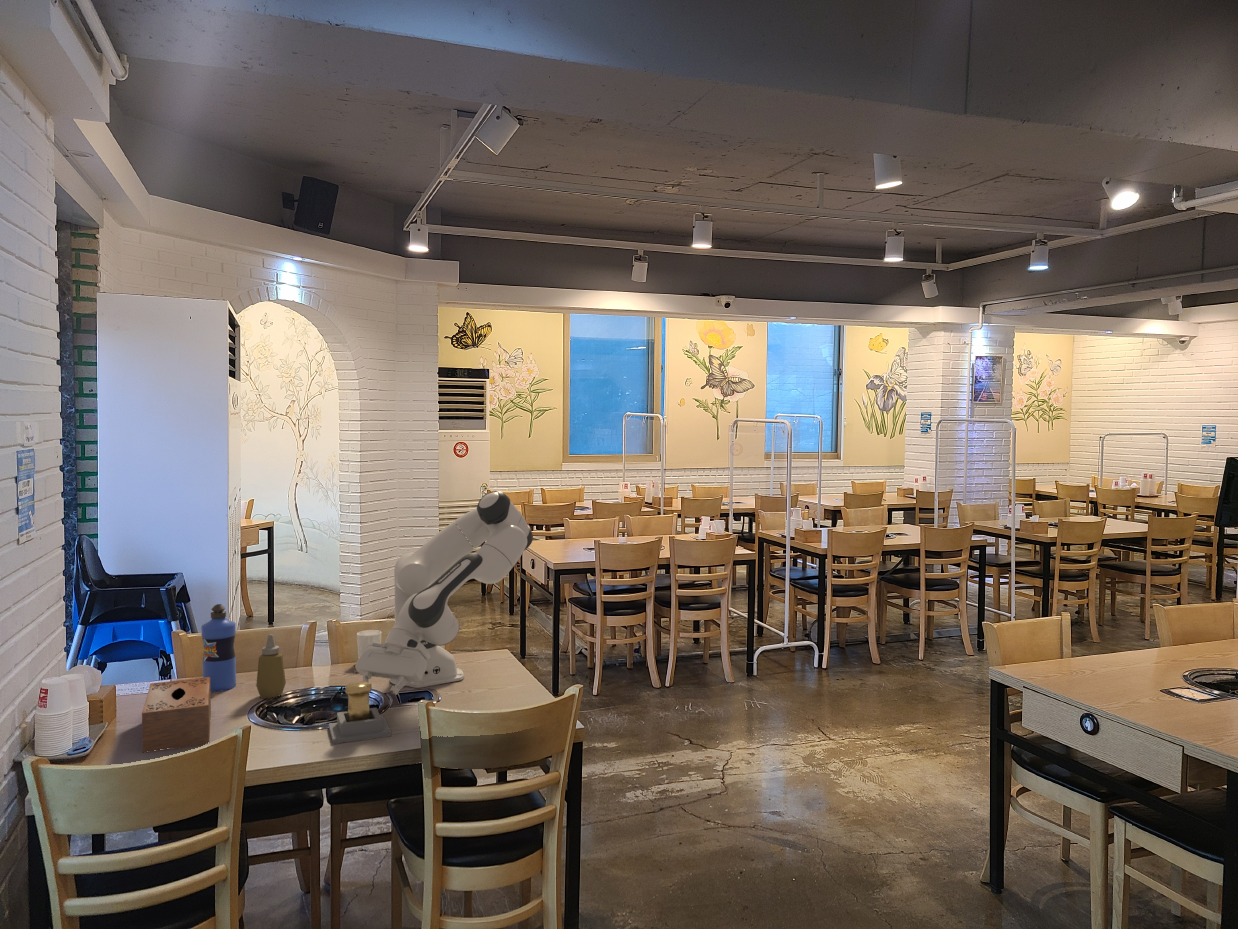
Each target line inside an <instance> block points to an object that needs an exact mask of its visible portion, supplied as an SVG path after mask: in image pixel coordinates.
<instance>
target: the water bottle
mask: <svg viewBox="0 0 1238 929" xmlns="http://www.w3.org/2000/svg"><path fill="white" fill-rule="evenodd" d="M225 609H226V607H225V606H224V605H223V604H222V603H220V604H219V603H218V604H217V603H216V604H214V605H213V607H212V608H211V612H210V620H209V621H208V622H206V623H203V624H202V625H201V629H200V630H201V638H202V645H203V654H202V678H204V677H210V687H211V693H213V692H214V693H217V692H225V691H229V690H232V689H234V688H236V687H237V665H236V664H237V663H236V660H237V659H236V653H235V642H236V640H235V638H236V634H237V629H236V628H237V626H236V624H237V622H235V621H233V620H230V619H227V618H226V617H227V611H226V610H225Z"/></svg>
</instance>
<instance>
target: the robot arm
mask: <svg viewBox="0 0 1238 929" xmlns="http://www.w3.org/2000/svg"><path fill="white" fill-rule="evenodd" d="M533 540H534V535H533V531H532V529H531V527H530V525H528V523H527V521H526V519H525V516H523V513H521V511H519V509H518V507H516V506H515V504H514V503H513V502H512V501H511V499H510V497H509V496H508V495H507V494H506V493H504V492H503V491H501V490H493V491H489V492H487V493H486V494H484V495H482V497H481V498H480V499H479V501H478V503H477V505H476V508H474V509H472V510H470V511H468V512H466V513H464V514H462V515H460V516H459V517H458V518H456V519H455V520H453V521H452V522H451V523H449V524H447V526H445V527H444V528H442V529H441V530H440V531H438V532H436V533H435V534H434V535H433V536H432V537H430V539H428V541H426V542H425V543H424V544H423V545H421V546H420V547H419V548H418V549H417V550H416V551H414V552H413V551H412V552H411V551H410V552H407V553H404V554H402V555H401V556H400V557H399V558H398V559H397V561H396V562H395V565H394V625H393V626H392V627H391V628H390V630H389V633H388V635H387V637H386V639H385V640H384V643H381V644H378V643H373V644H372V645H369V646H368V647H367V648H366V650H365V651H364V652H363V653H362V655H361V656H360V658H359V657H358V659H357V661H356V663H355V666H354V667H355V670H356V672H357V673H358V674H360V675H362V682H369V680H371V679H372V677H376V678H382V679H389V682H390V683H391V684H393V685H391V688H390V689H389V693H390V694H392V695H395V696H397V695H398V694H399V692H400V690H401V689H403V687H411V688H414V689H417V688H418V689H420V688H424V687H431V686H437V685H441V684H446V683H447V684H448V683H452V682H453V683H454V682H458V681H462V680H464V678H465V674H464V672H463V670H462V669H461V668H459V667H457V663H456V659H455V657H454V655H453V654H452V653H450V652H449V651H448V650H446V649H445V648H443V647H442V646H445V645H448V644H450V643H451V642H453V641H454V640H455V639H456V638H457V636H458V634H459V632H460V623H459V621H458V619H457V617H456V616H455V614H454V613H453V611H452V610H451V609H450V607H449V605H448V601H449V598H450V597H451V596H452V595H454V594H455V592H457V591H458V590H459V589H460V588H461V587H462V586H464V584H466V582H468V581H469V580H473V579H474V580H475V581H477V582H481V583H483V584H486V585H487V584H488V585H493V584H497V583H499V582H501V581H502V580H503V579H505V577H507V575H508V574H509V573H510V571H511V570H512V569H513V568H514V567H515V566H516V564H517V563H518V561H519V560H520V558H521V556H522V555H523V553H524V552H525V551H526V550H527V549H528V548H529V547H530V546H531V544H532V543H533ZM479 546H480V548H479ZM477 548H478V549H477ZM476 549H477V550H476ZM474 550H476V551H475V552H474Z"/></svg>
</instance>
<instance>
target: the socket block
mask: <svg viewBox="0 0 1238 929" xmlns="http://www.w3.org/2000/svg"><path fill="white" fill-rule="evenodd" d="M369 715H370V719H368V720H361V721H353V722H349V721H348V710H347V711H346V710H345V711H340V712H336V722H333V723H332V722H331V723H328V730H329V731H328V732H329V734H330V738H331V740H332V741H333V742H332V741H331V742H332V745H336V744H335V743H338V744H344V743H343V742H345V743H351V741H352V742H357V741H358V742H359V741H366V740H371V739H379V738H386V737H387V738H388V737H392V735H391V734H392V731H391V729H390V726H389V725H388V722H387V720H386V719H385V717H384V716H381V714H380V713H379V711H378V708H377V707H369Z"/></svg>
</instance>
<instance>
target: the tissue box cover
mask: <svg viewBox="0 0 1238 929" xmlns="http://www.w3.org/2000/svg"><path fill="white" fill-rule="evenodd" d="M211 695H212V692H211V687H210V677H204V678H203V677H199V678H187V679H179V680H169V681H160V682H159V681H158V682H152V683H150V684H149V687H148V691H147V695H146V697H145V702H144V706H143V709H142V712H141V723H142V724H141V726H142V727H141V730H142V731H141V732H142V753H143V752H146V753H148V752H147V751H154V750H160V749H167V748H175V749H180V748H181V749H182V748H188V747H196V746H204V745H203V744H205V745H207V744H206V743H208V742H209V743H210V738H211V737H210V736H211V721H212V720H211V718H212V716H211V714H212V700H211V699H212V696H211ZM210 720H211V721H210ZM179 747H180V748H179ZM154 752H155V751H154Z"/></svg>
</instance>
